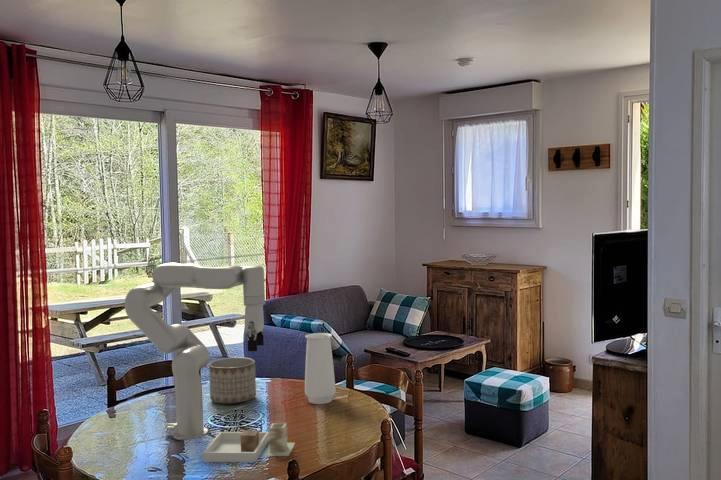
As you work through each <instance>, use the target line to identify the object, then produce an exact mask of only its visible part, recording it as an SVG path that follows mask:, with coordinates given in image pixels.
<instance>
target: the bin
mask: <svg viewBox="0 0 721 480" xmlns="http://www.w3.org/2000/svg"><path fill="white" fill-rule="evenodd" d="M242 433H243V431H219V433H218V434H216V436H215V437H214V439H212V440H211V442H210V443H209V444H208V445H207V447H205V448H204V450H203V451H202V453H201V454H202V457H201V458H202V460H201V461H202V463H203V462H205V463H206V462H211V463H213V462H216V463H217V462H218V463H219V462H221V463H222V462H223V463H230V462H231V463H256V462H258V459H259V458H260V456H261V454H263V452H264V451H265V449H266V447H267V446H268V445H267V444H269V442H270V441H269V431H259V445H258V446H257V448H256V449H255V451H254V452H241V436H240V435H241V434H242Z"/></svg>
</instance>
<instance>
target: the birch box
mask: <svg viewBox="0 0 721 480" xmlns="http://www.w3.org/2000/svg"><path fill="white" fill-rule="evenodd" d="M287 424H288V423H287V422H286V423H285V422H283V423H282V422H281V423H280V422H279V423H278V422H277V423H276V422H275V423H273V422H272V423H271V424H270V426H269V429H268V432H269V441H268V442H269V443H270V452H285V450H286V448H287V443H288V425H287Z"/></svg>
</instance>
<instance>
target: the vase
mask: <svg viewBox="0 0 721 480" xmlns="http://www.w3.org/2000/svg"><path fill="white" fill-rule="evenodd" d="M332 336H333V334H331V333H329V332H313V333H307V334H305V336H304V338H306V349H305V350H306V351H305V367H304V368H305V370H304V396H306V397H307V399H308V402H309V403H310V404H314V405H323V404H328V403H332V401H333V397H334V395H335V394H336V378H335V369H334V359H333V358H334V357H333V351H332V341H331V338H332Z"/></svg>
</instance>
